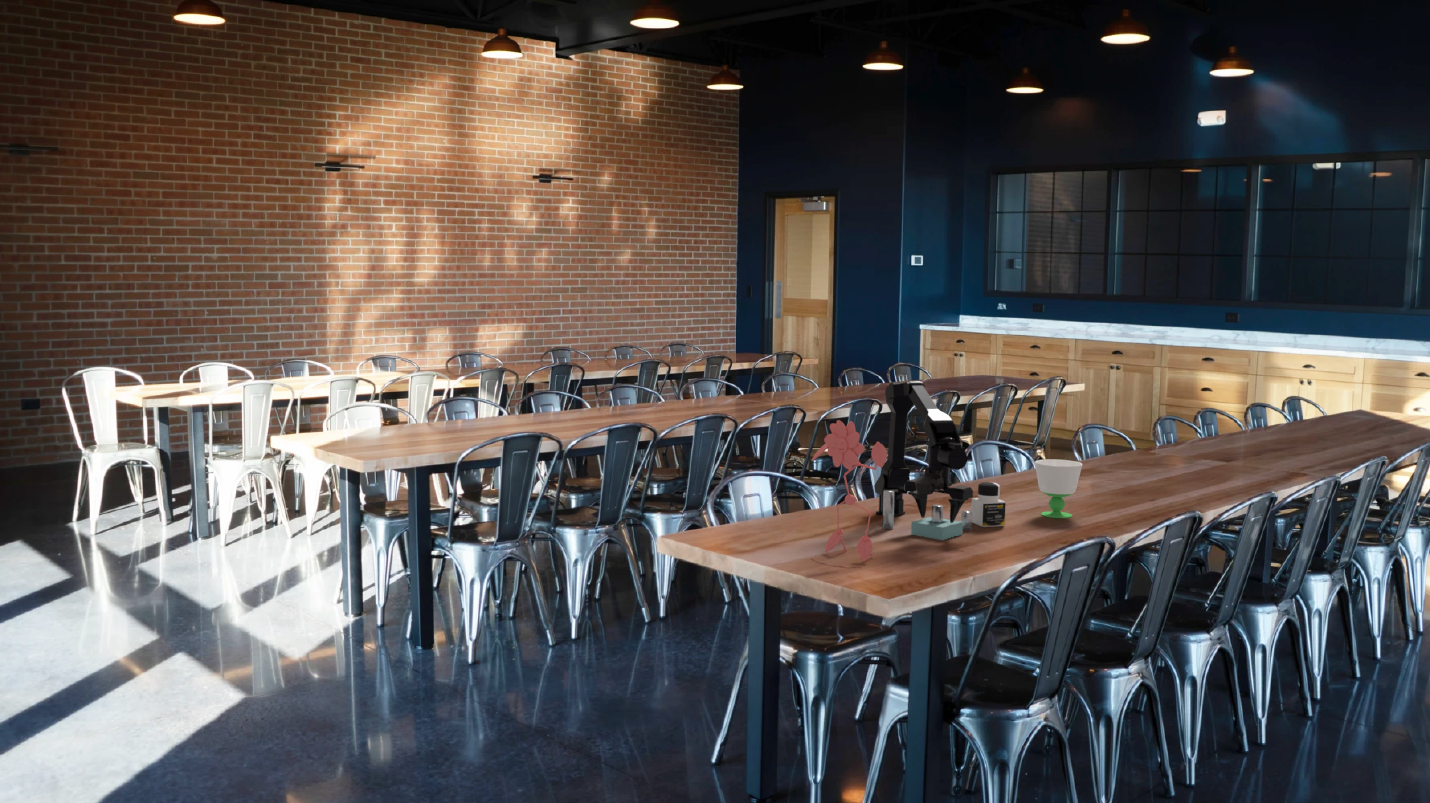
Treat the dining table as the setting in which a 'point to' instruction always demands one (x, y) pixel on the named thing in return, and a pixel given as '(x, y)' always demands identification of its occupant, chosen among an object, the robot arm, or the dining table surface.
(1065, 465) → the cup
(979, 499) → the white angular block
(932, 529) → the socket block
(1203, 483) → the dining table surface
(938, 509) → the pin medium
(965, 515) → the pin short
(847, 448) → the figurine
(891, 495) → the pin long
